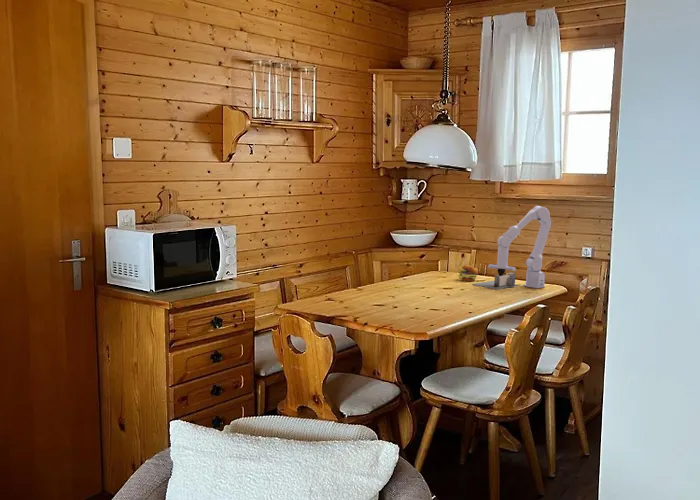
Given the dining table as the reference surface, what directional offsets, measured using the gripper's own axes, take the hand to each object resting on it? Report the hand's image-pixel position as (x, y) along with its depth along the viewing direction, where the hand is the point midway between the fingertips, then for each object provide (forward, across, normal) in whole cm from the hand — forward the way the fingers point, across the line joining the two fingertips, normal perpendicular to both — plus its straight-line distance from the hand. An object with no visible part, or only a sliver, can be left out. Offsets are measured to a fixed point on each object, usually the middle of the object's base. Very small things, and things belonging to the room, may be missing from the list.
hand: (500, 282), depth 382 cm
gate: (+1, -2, +2) cm, 3 cm away
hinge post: (+2, 0, +8) cm, 9 cm away
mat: (+2, +3, +1) cm, 4 cm away
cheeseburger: (+2, +20, -6) cm, 21 cm away
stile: (+1, -5, -2) cm, 5 cm away
